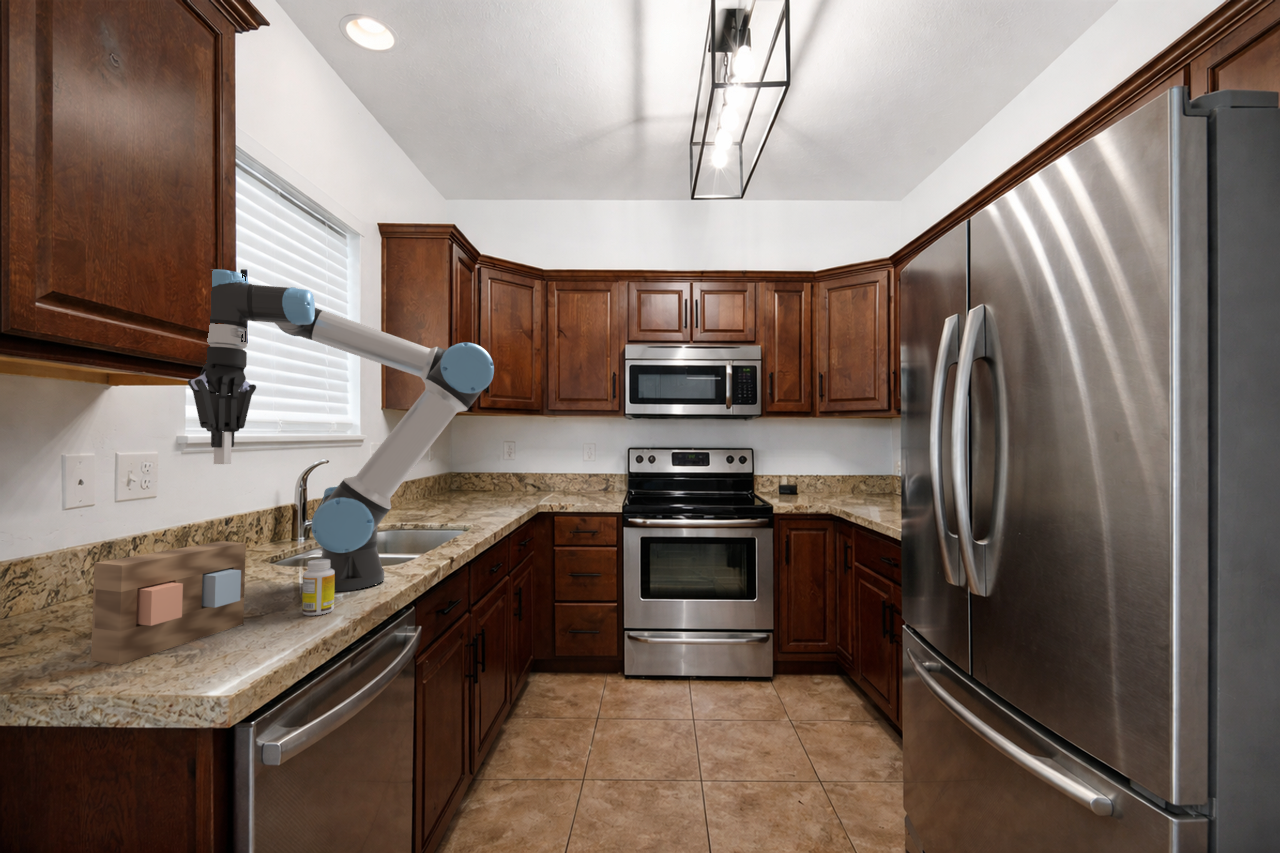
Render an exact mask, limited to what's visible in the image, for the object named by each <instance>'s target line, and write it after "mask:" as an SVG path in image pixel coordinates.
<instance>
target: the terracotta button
mask: <svg viewBox="0 0 1280 853" xmlns="http://www.w3.org/2000/svg"><path fill="white" fill-rule="evenodd" d="M182 598H183V584H181V583H172V582H164V583H160V584H155V585H151V586H146V587H141V588H137V617H136V624H141V625H149V626H152V625H155V624H159V623H162V622H166V621H170V620H173V619H177V618H180V617H182Z"/></svg>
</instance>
